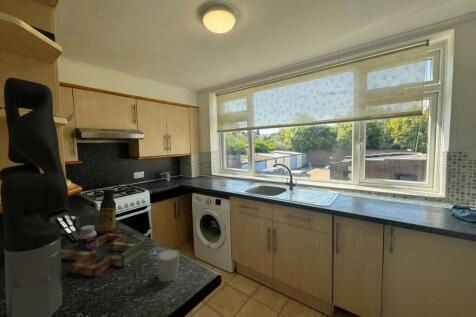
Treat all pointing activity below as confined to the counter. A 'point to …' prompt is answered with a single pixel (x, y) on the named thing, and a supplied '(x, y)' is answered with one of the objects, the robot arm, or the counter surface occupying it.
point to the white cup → (168, 264)
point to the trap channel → (94, 270)
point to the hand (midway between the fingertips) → (76, 241)
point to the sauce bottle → (107, 212)
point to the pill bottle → (87, 239)
